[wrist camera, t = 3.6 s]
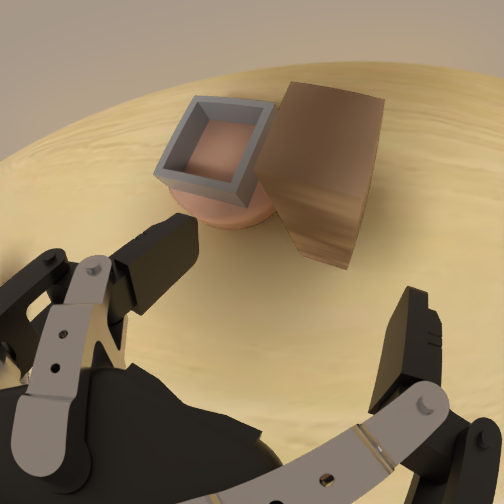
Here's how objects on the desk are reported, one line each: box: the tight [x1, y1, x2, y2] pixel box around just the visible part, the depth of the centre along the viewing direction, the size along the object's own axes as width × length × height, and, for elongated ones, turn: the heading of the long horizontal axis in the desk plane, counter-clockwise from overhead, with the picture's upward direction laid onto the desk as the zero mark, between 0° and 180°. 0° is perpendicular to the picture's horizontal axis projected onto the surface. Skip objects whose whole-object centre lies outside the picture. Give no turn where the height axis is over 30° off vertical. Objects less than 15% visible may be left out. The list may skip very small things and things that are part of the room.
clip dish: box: [153, 96, 278, 230], centre depth 22 cm, size 10×10×6 cm
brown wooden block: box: [253, 82, 385, 270], centre depth 15 cm, size 4×4×13 cm
